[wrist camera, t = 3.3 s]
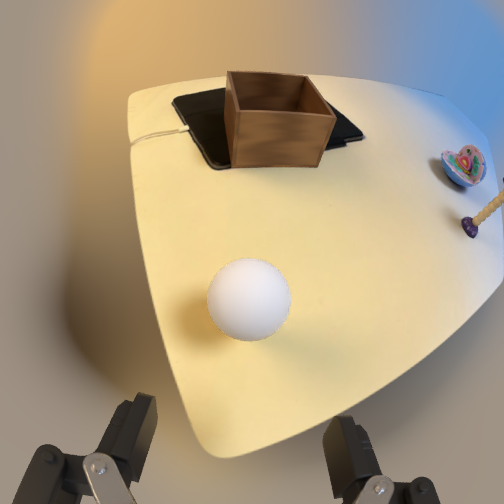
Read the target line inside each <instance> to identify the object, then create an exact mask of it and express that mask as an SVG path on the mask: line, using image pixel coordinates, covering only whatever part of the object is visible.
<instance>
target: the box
mask: <svg viewBox="0 0 504 504" xmlns="http://www.w3.org/2000/svg"><path fill="white" fill-rule="evenodd" d="M336 119H337V117H336V116H335V114H334V113H333V111H332V110H331V108H330V107H329V105H328V104H327V103H326V101H325V100H324V98H323V97H322V95H321V94H320V93H319V91H318V90H317V88H316V87H315V86H314V84H313V83H312V82H311V80H310V79H309V78H308V76H303V75H295V74H285V73H271V72H253V71H227V80H226V95H225V111H224V121H225V128H226V134H227V141H228V148H229V154H230V161H231V168H245V167H318V165H319V163H320V160H321V157H322V155H323V152H324V150H325V147H326V145H327V142H328V140H329V137H330V135H331V132H332V129H333V127H334V124H335V122H336Z"/></svg>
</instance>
